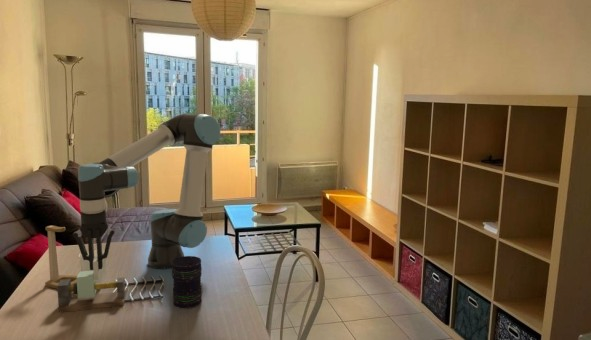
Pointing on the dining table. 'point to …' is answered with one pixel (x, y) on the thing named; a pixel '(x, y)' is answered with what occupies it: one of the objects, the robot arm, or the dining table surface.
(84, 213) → the robot arm
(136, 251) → the dining table surface
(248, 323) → the dining table surface
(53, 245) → the headphone stand
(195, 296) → the storage jar
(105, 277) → the candle holder
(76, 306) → the rail
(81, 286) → the sleeve
